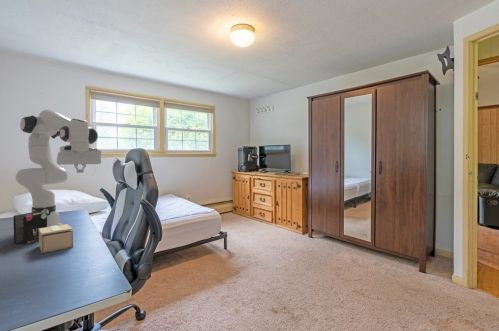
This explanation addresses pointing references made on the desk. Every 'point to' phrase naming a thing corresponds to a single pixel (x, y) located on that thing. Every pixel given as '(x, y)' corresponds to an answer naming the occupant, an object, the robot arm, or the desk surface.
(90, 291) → the desk surface
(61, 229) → the lid
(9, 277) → the desk surface
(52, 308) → the desk surface
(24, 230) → the tampon box
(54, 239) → the carton
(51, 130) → the robot arm
